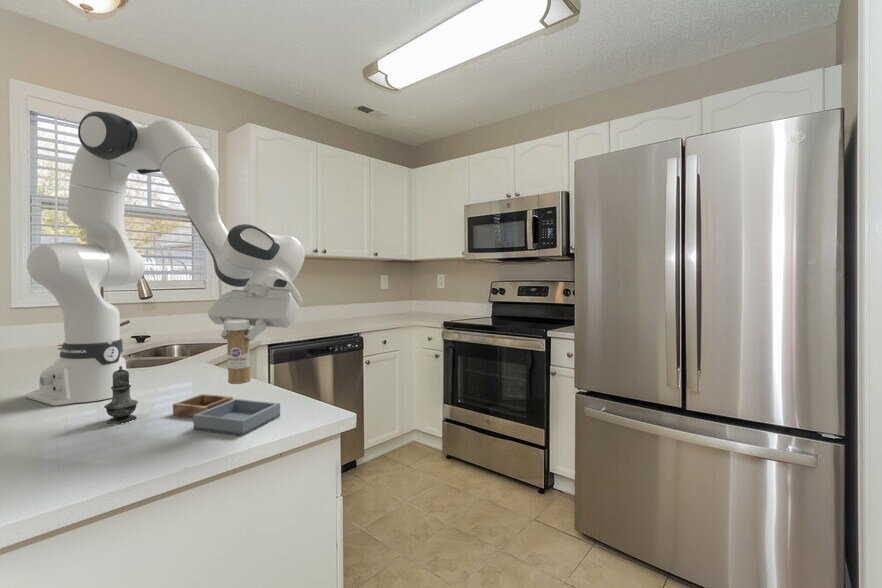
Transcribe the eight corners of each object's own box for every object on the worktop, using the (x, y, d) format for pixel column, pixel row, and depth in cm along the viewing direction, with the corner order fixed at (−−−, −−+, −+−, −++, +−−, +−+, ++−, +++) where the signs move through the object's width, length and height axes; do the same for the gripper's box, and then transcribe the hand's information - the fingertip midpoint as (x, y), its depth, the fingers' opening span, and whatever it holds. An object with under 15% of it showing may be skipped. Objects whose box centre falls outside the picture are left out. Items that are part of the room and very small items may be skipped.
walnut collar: (173, 415, 96) (172, 404, 96) (203, 403, 104) (203, 393, 104) (204, 419, 94) (204, 407, 93) (232, 407, 102) (232, 396, 102)
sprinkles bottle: (227, 385, 89) (225, 322, 87) (228, 380, 93) (226, 319, 92) (251, 383, 90) (249, 321, 89) (251, 377, 95) (249, 318, 93)
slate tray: (193, 429, 87) (193, 415, 87) (235, 411, 99) (235, 398, 99) (243, 435, 84) (242, 421, 84) (280, 416, 96) (280, 403, 96)
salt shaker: (120, 426, 89) (119, 369, 88) (97, 423, 90) (95, 367, 89) (145, 416, 94) (144, 363, 94) (123, 414, 96) (122, 362, 95)
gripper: (221, 281, 99) (187, 327, 91) (298, 282, 94) (270, 331, 85) (235, 298, 104) (204, 344, 95) (309, 301, 99) (284, 349, 90)
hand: (236, 338), depth 90 cm, fingers closed on sprinkles bottle, 4 cm apart
